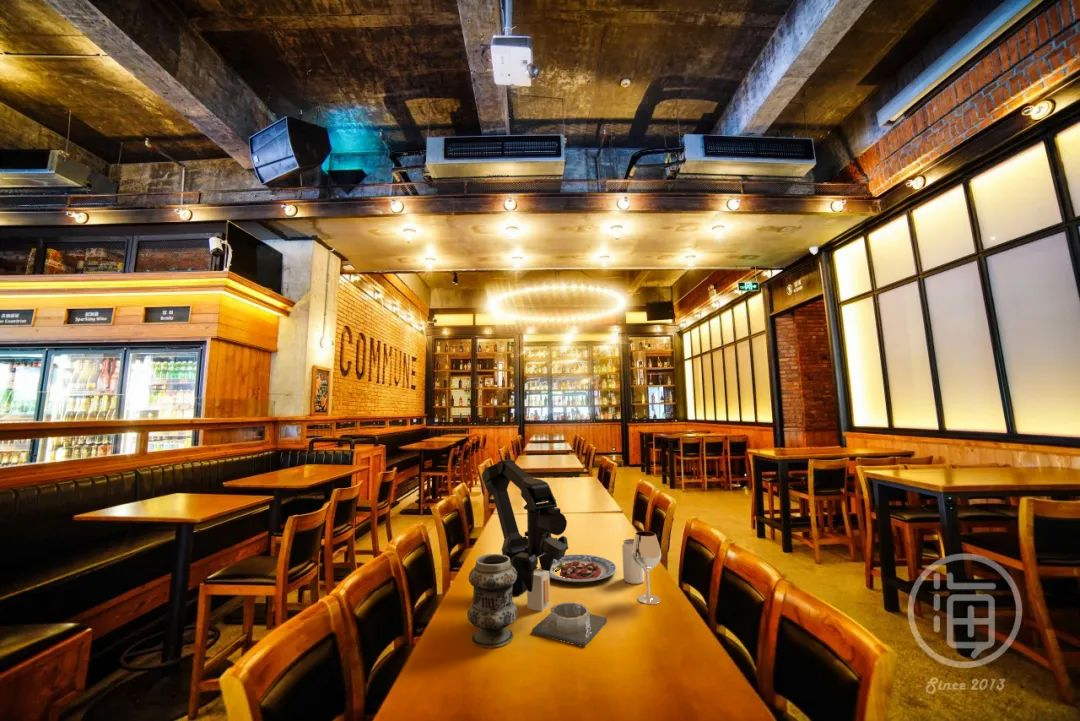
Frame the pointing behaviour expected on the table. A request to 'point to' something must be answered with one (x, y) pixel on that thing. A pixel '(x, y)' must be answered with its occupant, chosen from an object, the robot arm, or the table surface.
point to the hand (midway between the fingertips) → (538, 585)
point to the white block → (539, 591)
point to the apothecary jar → (492, 600)
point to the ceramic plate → (582, 568)
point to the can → (631, 564)
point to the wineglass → (646, 559)
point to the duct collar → (570, 624)
